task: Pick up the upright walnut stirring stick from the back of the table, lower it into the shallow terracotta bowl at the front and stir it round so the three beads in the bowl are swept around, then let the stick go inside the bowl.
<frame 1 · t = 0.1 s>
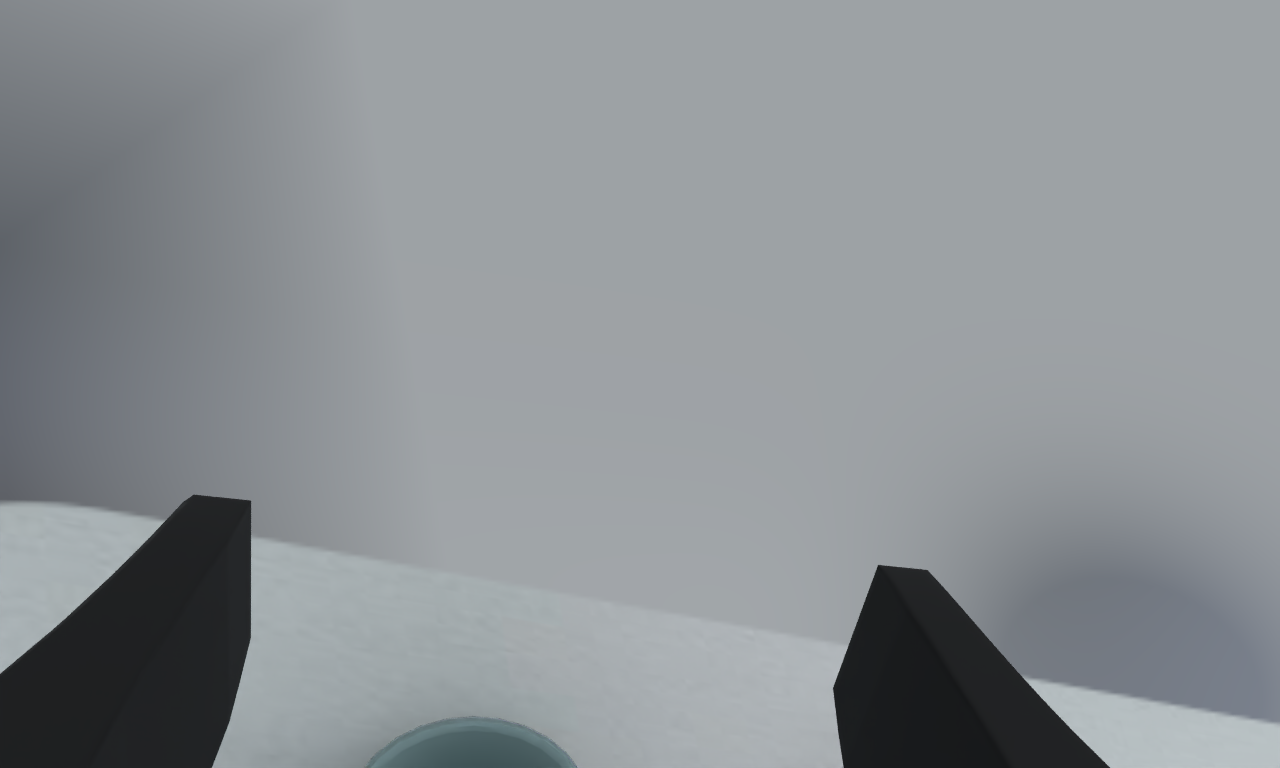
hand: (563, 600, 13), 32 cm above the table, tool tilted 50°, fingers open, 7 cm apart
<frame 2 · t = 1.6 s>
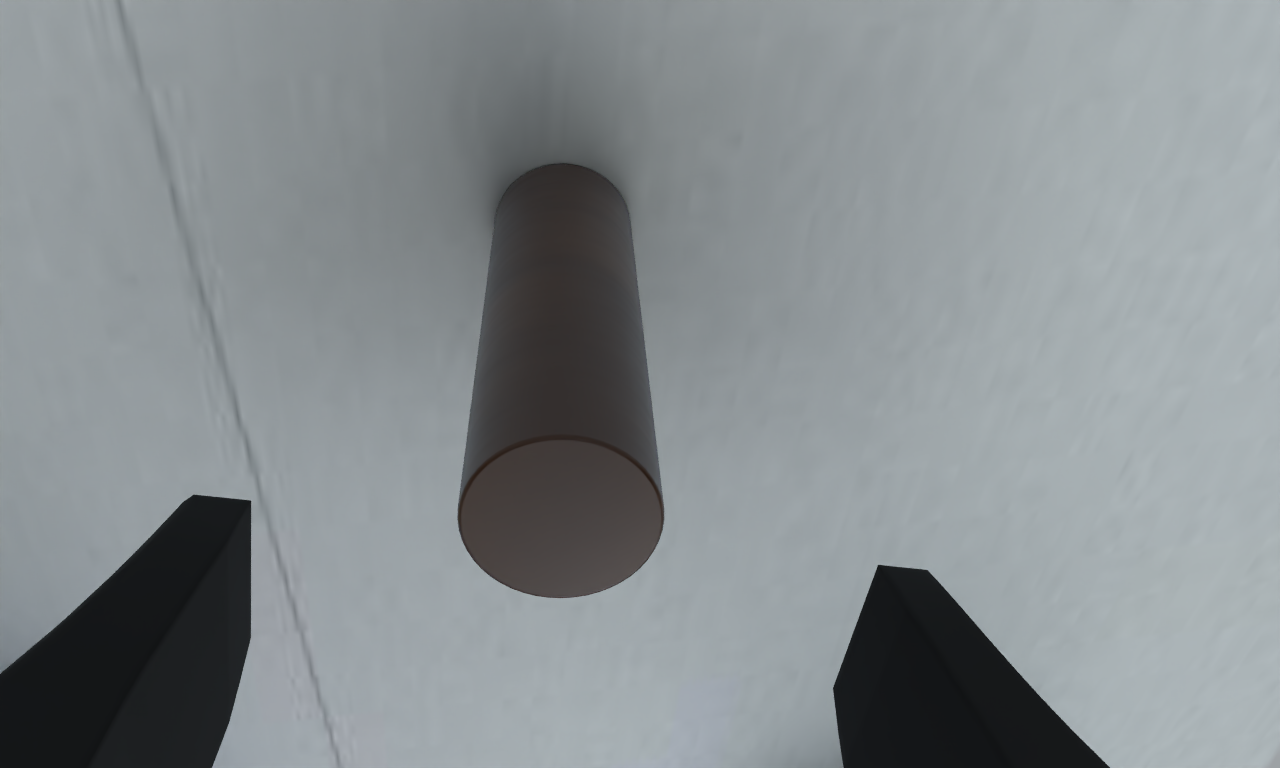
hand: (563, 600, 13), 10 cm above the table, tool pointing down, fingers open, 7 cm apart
stick: (562, 227, 22), on the table
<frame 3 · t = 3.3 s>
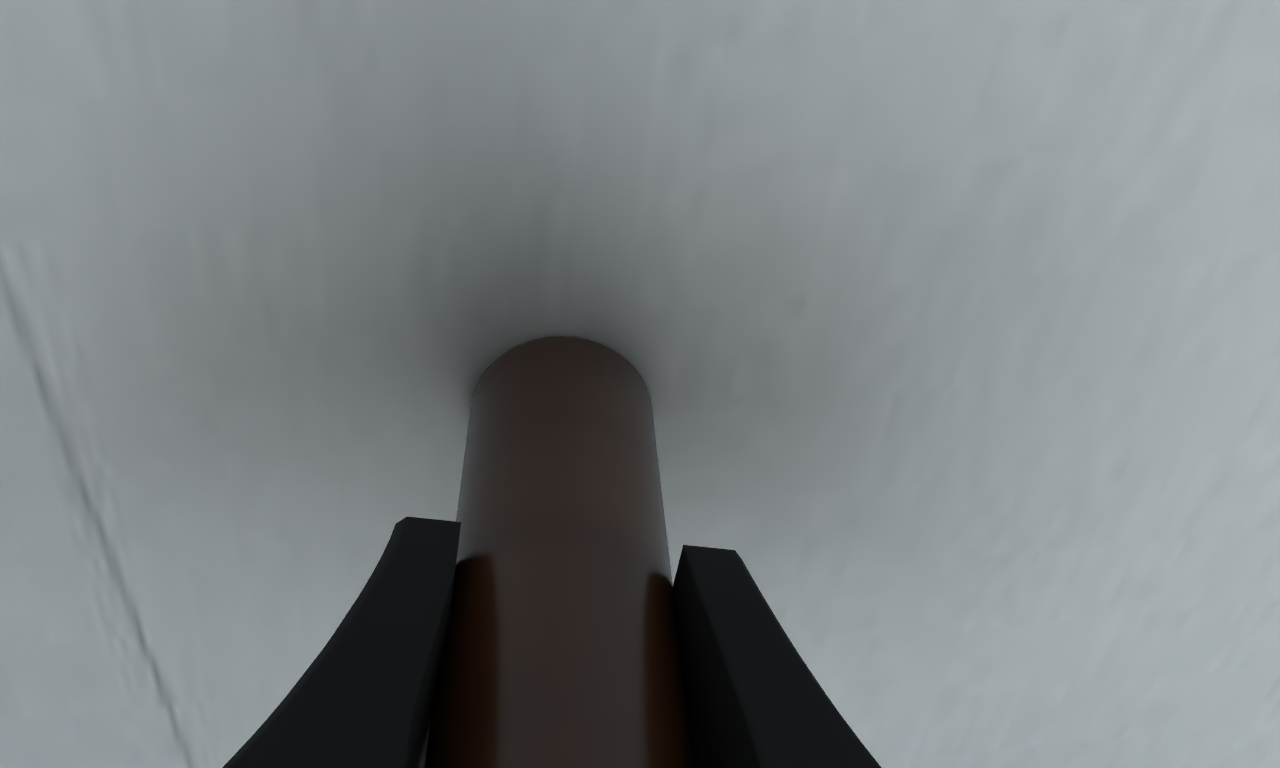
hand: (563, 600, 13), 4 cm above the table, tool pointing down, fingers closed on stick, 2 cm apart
stick: (561, 414, 17), on the table, touching gripper
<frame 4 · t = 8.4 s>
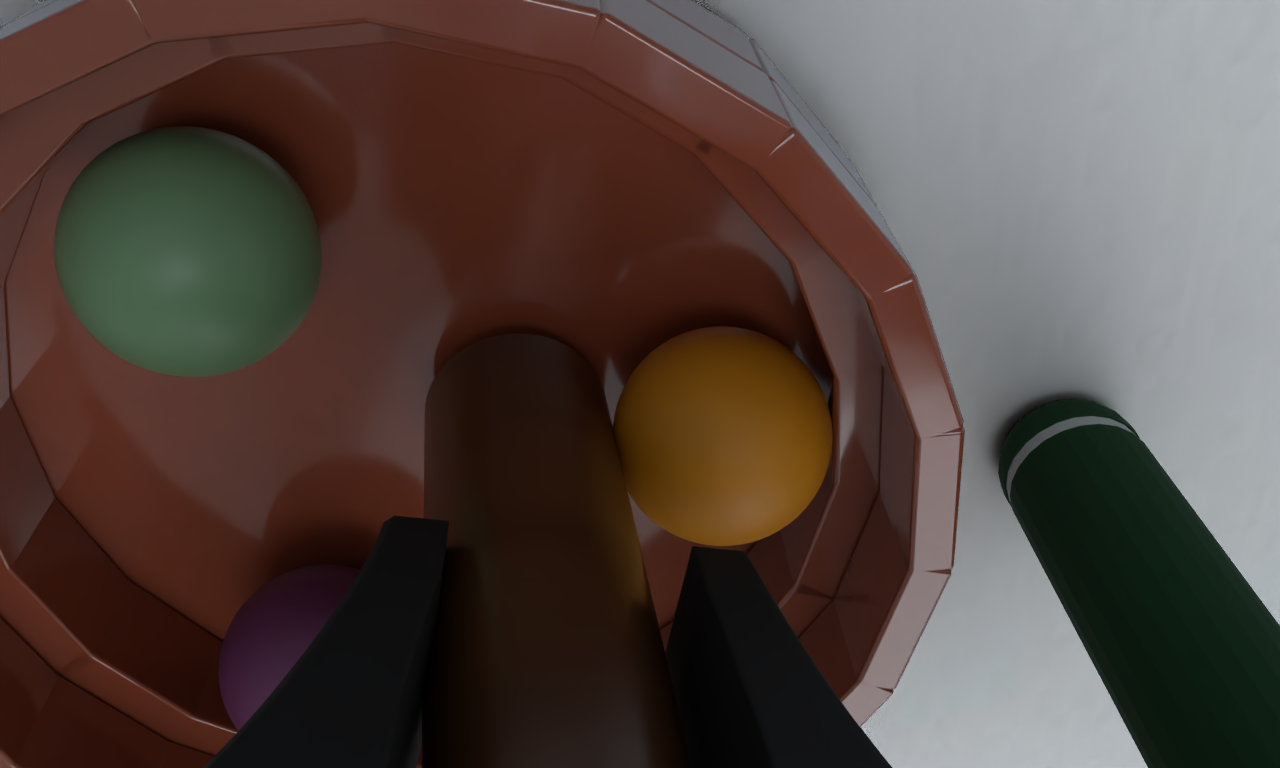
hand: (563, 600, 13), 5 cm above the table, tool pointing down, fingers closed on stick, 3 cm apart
bowl: (427, 386, 18), on the table
stick: (516, 410, 17), point 1 cm above the table, tilted 6°, touching amber bead, gripper
sage bead: (192, 253, 14), point 2 cm above the table, touching bowl
flashlight: (1053, 439, 19), on the table
amber bead: (721, 435, 16), point 2 cm above the table, tilted 6°, touching bowl, stick
plum bead: (323, 663, 18), point 2 cm above the table, touching bowl
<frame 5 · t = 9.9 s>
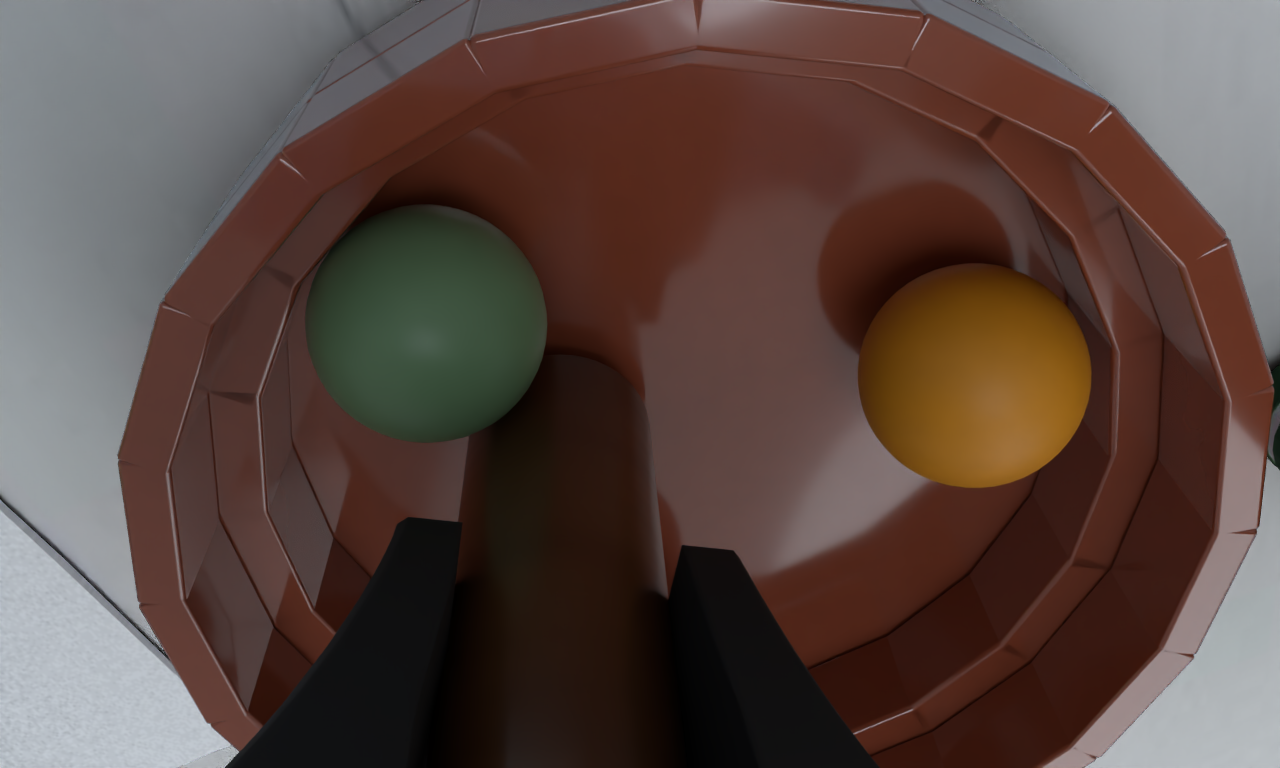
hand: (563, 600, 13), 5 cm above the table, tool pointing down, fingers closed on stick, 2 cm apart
bowl: (679, 397, 18), on the table
stick: (560, 430, 17), point 1 cm above the table, touching gripper
sage bead: (428, 324, 15), point 2 cm above the table, tilted 9°, touching bowl
amber bead: (971, 375, 15), point 2 cm above the table, tilted 25°, touching bowl
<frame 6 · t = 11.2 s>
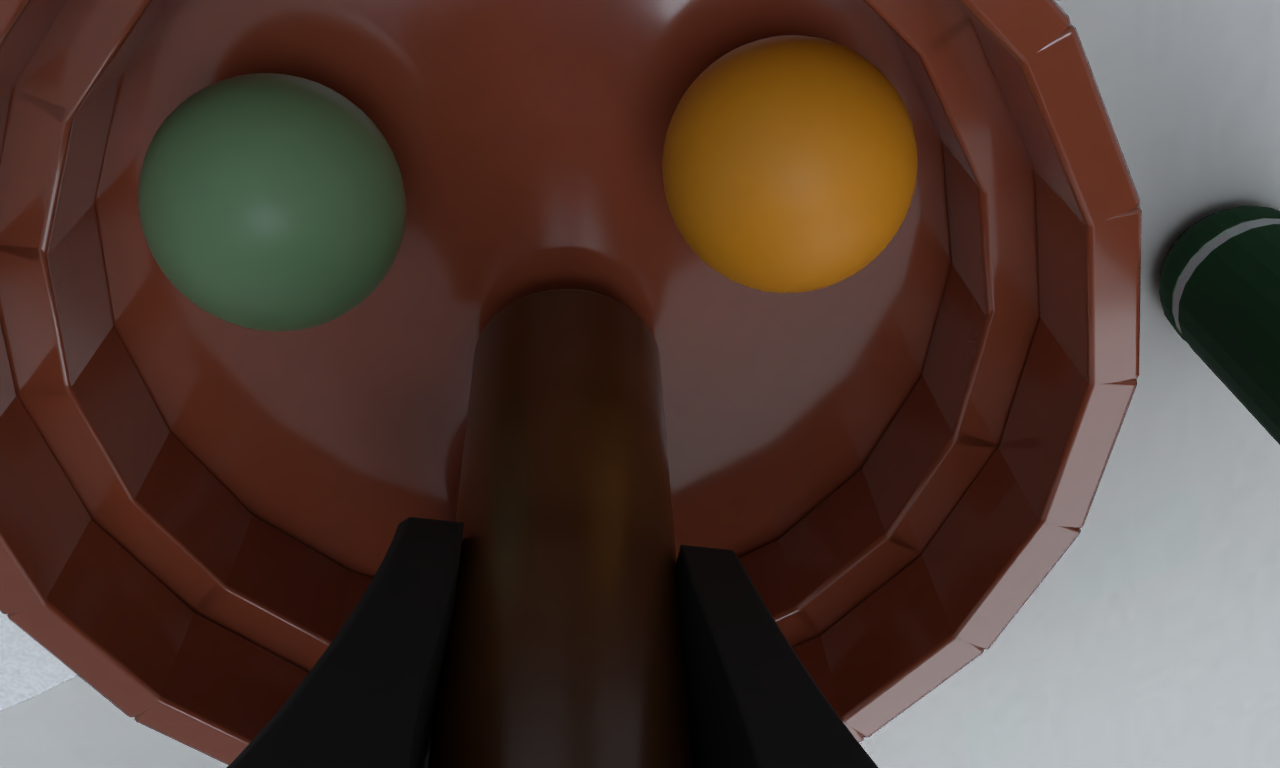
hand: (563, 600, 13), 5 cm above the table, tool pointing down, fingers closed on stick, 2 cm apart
bowl: (535, 273, 17), on the table
stick: (567, 362, 16), point 1 cm above the table, tilted 8°, touching gripper
sage bead: (276, 204, 14), point 2 cm above the table, tilted 18°, touching bowl
flashlight: (1216, 258, 17), on the table
amber bead: (788, 166, 14), point 2 cm above the table, tilted 60°, touching bowl
when the fingers open (5 cm above the table, at t = 12.1 s): stick stays where it is, resting on bowl.
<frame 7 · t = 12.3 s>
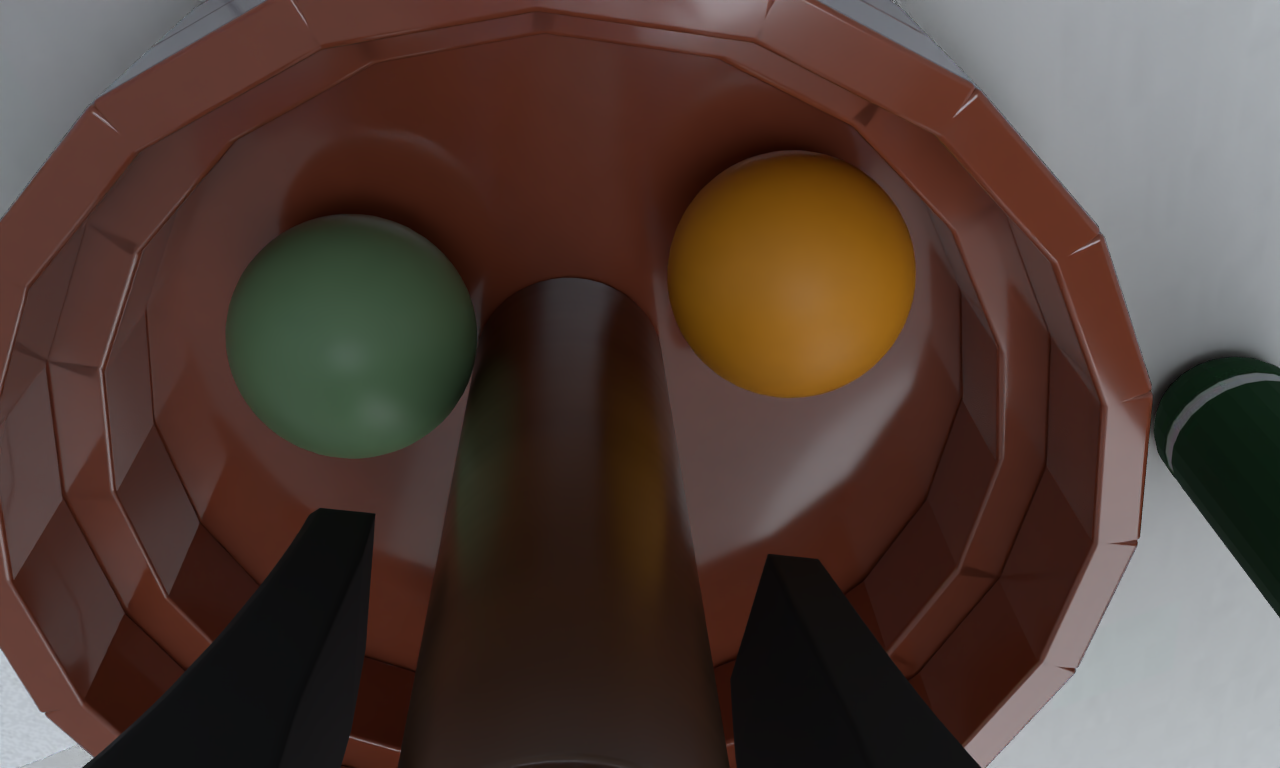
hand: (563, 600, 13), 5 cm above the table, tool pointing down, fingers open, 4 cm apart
bowl: (564, 387, 17), on the table
stick: (569, 363, 16), point 1 cm above the table, tilted 6°, touching bowl
sage bead: (354, 336, 14), point 2 cm above the table, tilted 28°, touching bowl
flashlight: (1207, 400, 18), on the table
amber bead: (789, 275, 14), point 2 cm above the table, tilted 90°, touching bowl
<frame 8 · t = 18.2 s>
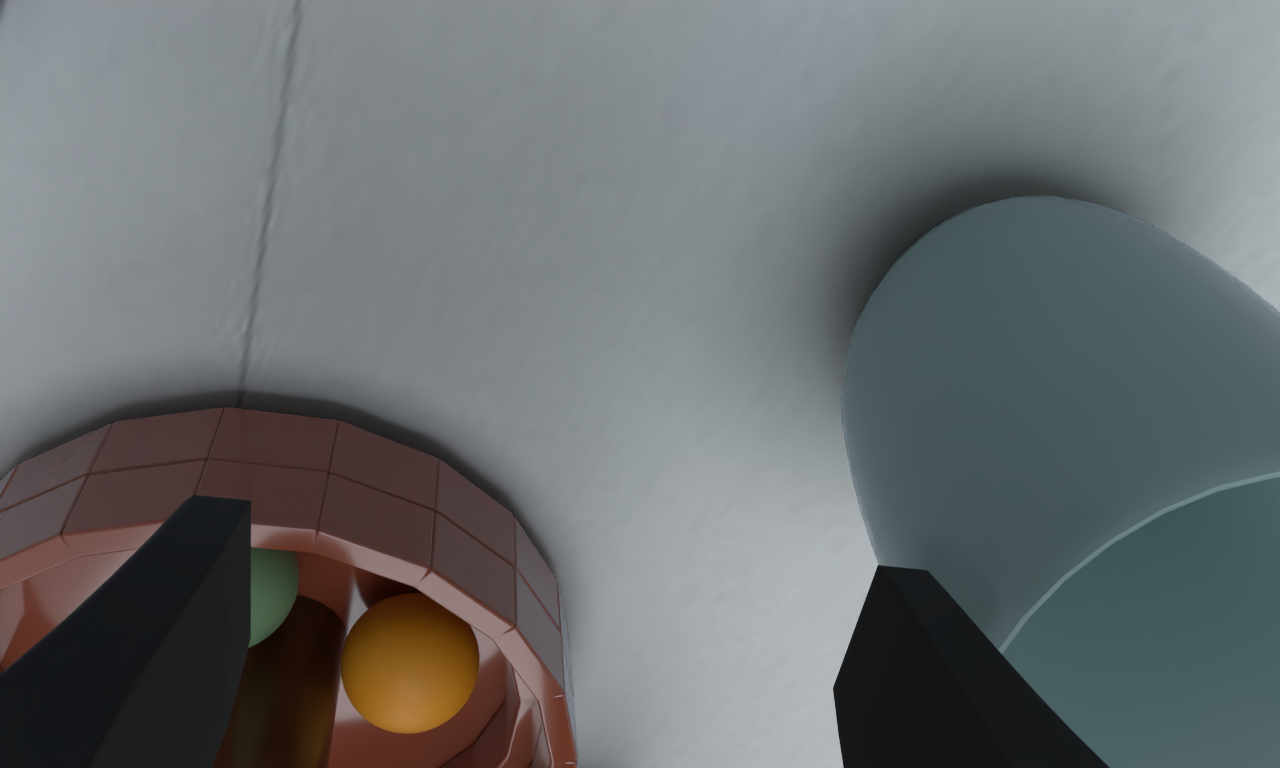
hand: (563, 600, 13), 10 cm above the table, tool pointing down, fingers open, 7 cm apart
bowl: (269, 635, 27), on the table
stick: (288, 635, 27), point 1 cm above the table, touching bowl
sage bead: (222, 578, 24), point 2 cm above the table, tilted 33°, touching bowl
cup: (982, 309, 24), on the table
amber bead: (410, 662, 25), point 2 cm above the table, tilted 107°, touching bowl
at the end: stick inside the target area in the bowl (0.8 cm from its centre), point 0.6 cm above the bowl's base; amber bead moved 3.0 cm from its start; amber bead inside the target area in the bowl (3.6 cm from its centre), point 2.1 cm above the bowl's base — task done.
